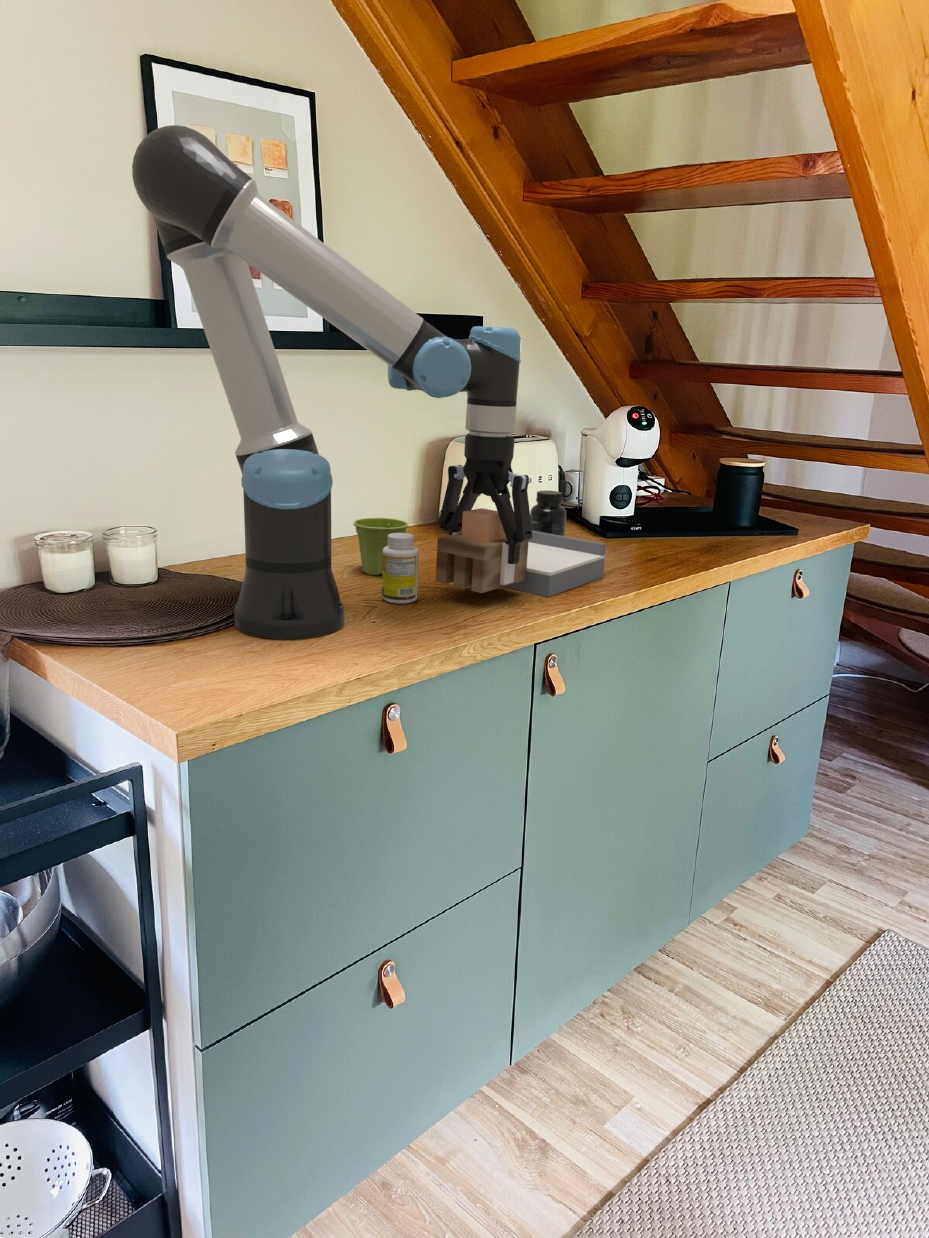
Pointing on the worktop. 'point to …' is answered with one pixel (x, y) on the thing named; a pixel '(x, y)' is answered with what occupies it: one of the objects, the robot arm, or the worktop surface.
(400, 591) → the supplement bottle
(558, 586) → the platform
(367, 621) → the worktop surface
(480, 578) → the pallet
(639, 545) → the worktop surface
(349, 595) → the worktop surface
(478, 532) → the terracotta orange block
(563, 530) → the supplement bottle
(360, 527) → the plant pot
